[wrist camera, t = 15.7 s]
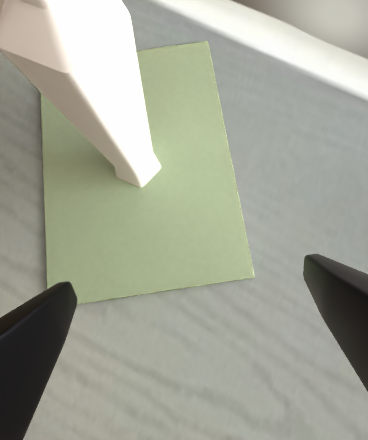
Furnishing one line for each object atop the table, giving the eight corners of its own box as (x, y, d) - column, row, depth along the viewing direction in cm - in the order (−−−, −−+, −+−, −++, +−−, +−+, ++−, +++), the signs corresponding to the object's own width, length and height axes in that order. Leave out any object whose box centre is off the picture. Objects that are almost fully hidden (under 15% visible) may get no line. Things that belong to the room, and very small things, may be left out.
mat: (253, 277, 18) (254, 277, 18) (50, 307, 18) (47, 308, 18) (207, 44, 23) (207, 40, 22) (41, 67, 22) (39, 64, 22)
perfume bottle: (136, 129, 21) (3, -216, 6) (173, 160, 20) (129, -137, 5) (98, 166, 20) (-156, -113, 5) (135, 199, 19) (-35, -10, 5)
